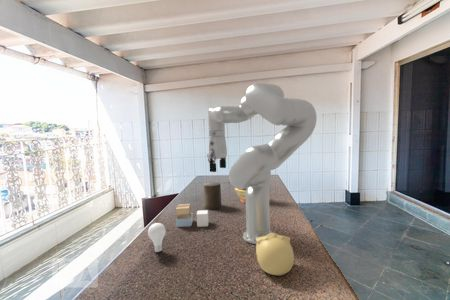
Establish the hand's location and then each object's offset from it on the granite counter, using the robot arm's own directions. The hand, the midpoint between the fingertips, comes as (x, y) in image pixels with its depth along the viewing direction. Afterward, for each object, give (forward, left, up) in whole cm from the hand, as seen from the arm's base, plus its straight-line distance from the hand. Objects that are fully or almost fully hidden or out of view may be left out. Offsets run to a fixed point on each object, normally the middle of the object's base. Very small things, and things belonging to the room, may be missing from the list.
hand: (218, 169), depth 111 cm
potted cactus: (+28, -17, -26) cm, 42 cm away
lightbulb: (-27, +23, -26) cm, 44 cm away
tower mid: (-2, +18, -22) cm, 28 cm away
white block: (-4, +8, -25) cm, 27 cm away
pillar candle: (+20, +4, -26) cm, 33 cm away
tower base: (-2, +17, -26) cm, 31 cm away
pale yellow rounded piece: (-41, -18, -26) cm, 51 cm away
